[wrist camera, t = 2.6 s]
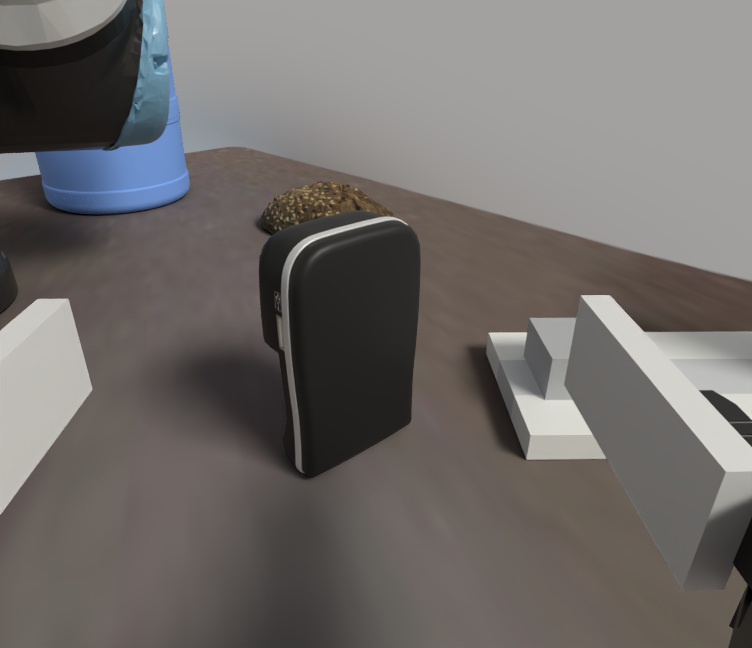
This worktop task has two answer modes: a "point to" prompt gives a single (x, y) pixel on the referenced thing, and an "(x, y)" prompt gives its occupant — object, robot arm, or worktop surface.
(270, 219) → the bread roll
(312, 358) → the battery charger
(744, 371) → the mount
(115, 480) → the worktop surface
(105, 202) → the water jug
